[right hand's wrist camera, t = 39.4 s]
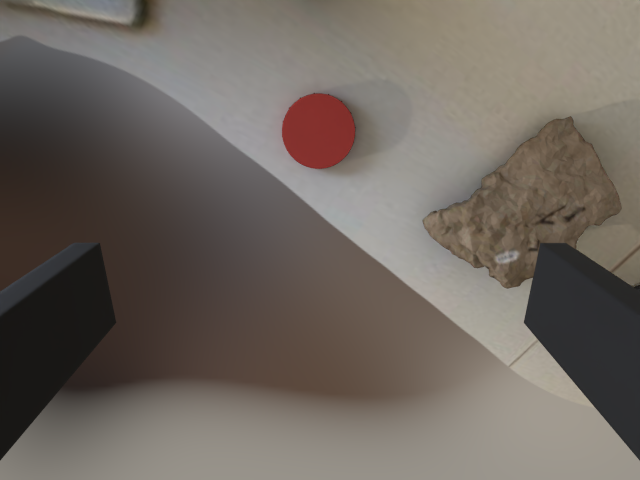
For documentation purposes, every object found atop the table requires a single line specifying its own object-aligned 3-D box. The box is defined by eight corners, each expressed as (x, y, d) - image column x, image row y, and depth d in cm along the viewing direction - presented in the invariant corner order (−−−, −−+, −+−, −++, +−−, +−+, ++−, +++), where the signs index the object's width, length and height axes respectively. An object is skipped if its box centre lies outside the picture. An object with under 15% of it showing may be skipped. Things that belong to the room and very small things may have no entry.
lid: (357, 96, 49) (358, 97, 48) (350, 168, 52) (351, 171, 51) (284, 90, 49) (283, 90, 47) (281, 163, 52) (280, 165, 50)
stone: (484, 306, 56) (503, 318, 49) (415, 221, 55) (425, 223, 49) (613, 205, 54) (648, 205, 48) (543, 116, 53) (571, 105, 47)
